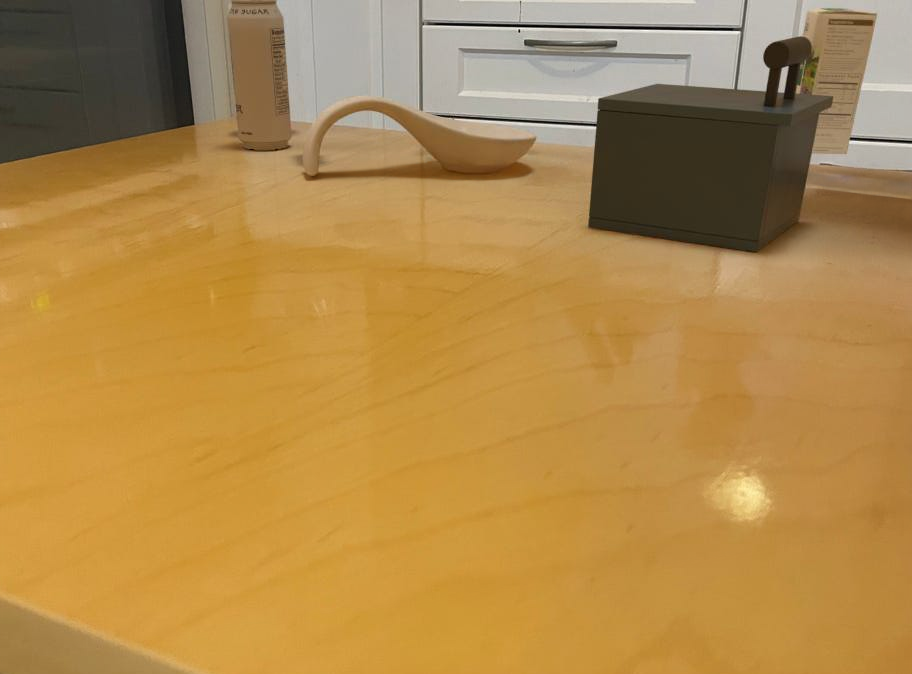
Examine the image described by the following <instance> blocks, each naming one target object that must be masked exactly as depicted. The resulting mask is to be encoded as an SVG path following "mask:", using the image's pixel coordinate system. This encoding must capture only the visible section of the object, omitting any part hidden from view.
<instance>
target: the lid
mask: <svg viewBox="0 0 912 674" xmlns="http://www.w3.org/2000/svg"><path fill="white" fill-rule="evenodd" d="M811 50H812V45H811V42H810V41H809V39H807V38H806V37H803V35H802V36H801V35H800V36H795V37H789V38H786V39H780V40H777V41H773V42H771V43H770V44H768V45H767V46H766V47H765V49H764V51H763V54H762V60H763V63H764V65H765V66H766V67H767V68H768V69H769V71H768V76H767V83H766V88H765V90H753V89H751V90H749V89H737V88H723V87H722V88H721V87H710V86H708V87H707V86H695V85H681V84H666V83H655V84H649V85H645V86H643V87H638V88H635V89H631V90H625V91H623V92H619V93H614V94H610V95H606V96H602V97H598V100H597V111H598V110H609V111H621V112H632V113H644V114H655V115H666V116H678V117H689V118H701V119H712V120H724V121H735V122H747V123H758V124H770V125H781V126H791V125H793V124H795V123H798V122H800V121H802V120H804V119H806V118H809V117H811V116H813V115H815V114H817V113H819V112H822V111H824V110H826V109H828V108H830V107H832V102H833V96H824V95H810V94H795V93H796V88H797V82H798V77H799V71H800V66H801V62H803V61H805V60H806V59H807V58H808V57H809V56H810V54H811ZM787 67H788V68H787ZM784 68H787V74H786V79H785V80H786V81H785V85H784V91H783V92H782V91H781V92H780V91H779V88H780V82H781V77H782V70H783V69H784Z"/></svg>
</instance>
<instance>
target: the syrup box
mask: <svg viewBox="0 0 912 674" xmlns="http://www.w3.org/2000/svg"><path fill="white" fill-rule="evenodd" d="M877 17H878V13H877V12H868V11H865V10H864V11H863V10H859V9H858V10H857V9H851V8H843V7H819V8H810V9H807V11H806V16H805V20H804V27H803V32H802V36H803V37H806V38H807V39H809V41H810V42H811V45H812V50H811V54H810V56H809V57H808V58H807V59H806V60H805V61H803V62H801V66H800V71H799V77H798V82H797V88H796V93H795V94H810V95H824V96H833V102H832V107H830V108H828V109H826V110H824V111H822V112H820V113H819V118H818V123H817V128H816V134H815V139H814V144H813V149H812V154H817V155H819V154H820V155H847V154H848V150H849V144H850V141H851V136H852V131H853V127H854V123H855V117H856V113H857V109H858V104H859V99H860V95H861V89H862V85H863V81H864V76H865V72H866V68H867V64H868V59H869V55H870V50H871V46H872V45H871V44H872V41H873V35H874V31H875V26H876V21H877Z"/></svg>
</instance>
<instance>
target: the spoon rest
mask: <svg viewBox="0 0 912 674" xmlns="http://www.w3.org/2000/svg"><path fill="white" fill-rule="evenodd" d="M359 112H376V113H380V114H381V115H385V116H387V117H388V118H390V119H392V120H394V121H395V122H396V123H398V124H399V125H400V126H401V127H402V128H403V129H404V130H406V131H407V132H408V133H409V134H410V135H411V136H412V137H413V138H414V139H415V140H416V141H417V142H418V144H420V146H422V148H423V149H424V150H426V152H427V153H428V154H429V155H430V156H431V157H433V159H435V160H436V161H437V162H438V163H439V164H440V165H441V166H442V168H443V169H445V170H447V171H451V172H456V173H464V174H465V173H466V174H490V173H497V172H500V171H501V170H503V169H504V168H507V167H510V166H511V165H513V164H515V163H517V162H518V161H519V160H520V159H521V158H523V157H524V156H525V155H526V154H527V153H528V152H529V151H530V150H531V148H532V147H533V146H534V144H535V143H536V141H537V135H536V134H535V133H533V132H531V131H528V130H525V129H521V128H516V127H511V126H505V125H500V124H493V123H485V122H476V121H467V120H460V119H454V118H449V117H443V116H438V115H435V114H432V113H429V112H425V111H423V110H420V109H418V108H415V107H413V106H410V105H409V104H405V103H402V102H400V101H397V100H394V99H390V98H388V97H382V96H377V95H366V94H365V95H364V94H363V95H355V96H350V97H346V98H343V99H341V100H339V101H337V102H334V103H333V104H330V105H329V106H328V107H326V108H325V109H324V110H323V111H321V112H320V114H319V115H317V117H316V118H315V119H314V121H313V123H312V124H311V126H310V127H309V129H308V132H307V134H306V137H305V141H304V144H303V150H302V167H303V170H304V172H305V173H306V174H307V175H308V176H311V177H312V176H316V175H318V173H319V169H320V152H321V151H320V150H321V147H322V143H323V140H324V138H325V136H326V133H327V132H328V131H329V129H330V128H331V127H332V126H333V125H334V124H335V123H337V122H338V121H340V120H341V119H343V118H345V117H347V116H349V115H353V114H356V113H359Z"/></svg>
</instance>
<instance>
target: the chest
mask: <svg viewBox="0 0 912 674" xmlns="http://www.w3.org/2000/svg"><path fill="white" fill-rule="evenodd" d="M819 113H820V112H819ZM819 113H817V114H815V115H813V116H811V117H809V118H806V119H804V120H802V121H800V122H798V123H795V124H793V125H791V126H781V125H770V124H758V123H747V122H735V121H724V120H712V119H701V118H689V117H678V116H666V115H655V114H644V113H632V112H621V111H609V110H598V109H597V113H596V125H595V135H594V136H595V137H594V148H593V149H594V150H593V162H592V174H591V186H590V198H589V210H588V222H587V223H588V224H587V227H588V228H592V229H598V230H602V231H603V230H604V231H612V232H616V233H617V232H618V233H625V234H630V235H631V234H632V235H636V236H637V235H638V236H644V237H650V238H658V239H664V240H671V241H678V242H684V243H691V244H698V245H704V246H712V247H718V248H724V249H731V250H738V251H745V252H750V253H751V252H752V253H757V252H758V251H760V250H762V249H763V248H764V247H766V246H767V245H768V244H769V243H771V242H772V241H773V240H774V239H777V238H778V237H779V236H780V235H781V234H783V233H784V232H786V231H787V230H788V229H790V228H791V227H793V226H794V225H795V224H796V223H798V222H799V221H800V216H801V211H802V207H803V203H804V195H805V191H806V184H807V180H808V175H809V171H810V170H809V169H810V166H811V165H810V164H811V160H812V154H813V153H812V149H813V144H814V139H815V134H816V128H817V123H818V118H819Z"/></svg>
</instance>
